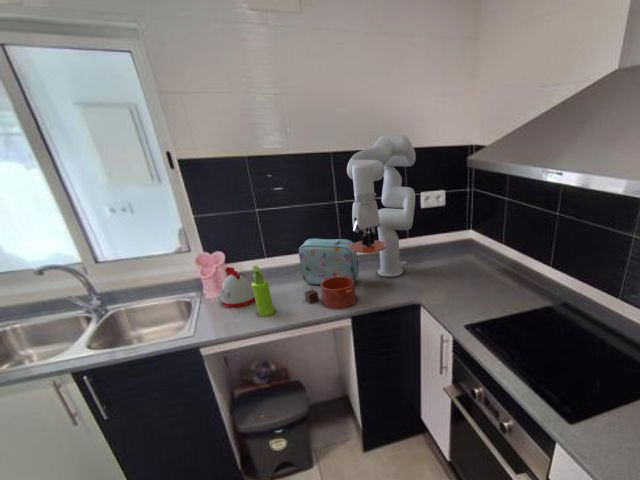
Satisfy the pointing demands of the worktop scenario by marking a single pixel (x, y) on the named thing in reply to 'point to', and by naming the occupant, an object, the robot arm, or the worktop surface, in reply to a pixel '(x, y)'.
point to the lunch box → (327, 260)
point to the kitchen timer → (236, 290)
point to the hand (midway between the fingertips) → (368, 244)
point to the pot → (338, 292)
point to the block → (311, 296)
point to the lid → (370, 248)
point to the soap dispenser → (262, 294)
